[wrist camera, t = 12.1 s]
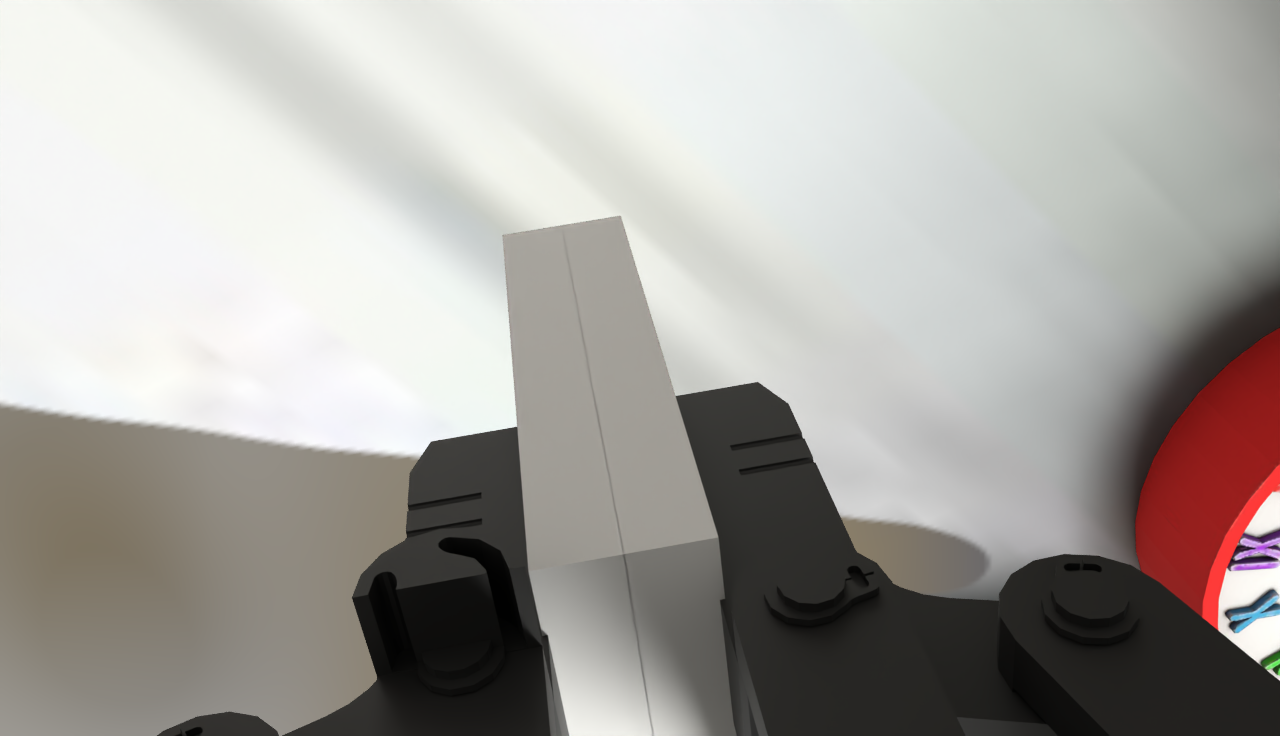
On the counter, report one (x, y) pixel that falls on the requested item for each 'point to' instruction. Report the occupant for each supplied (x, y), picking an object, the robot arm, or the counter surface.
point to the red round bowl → (1222, 505)
